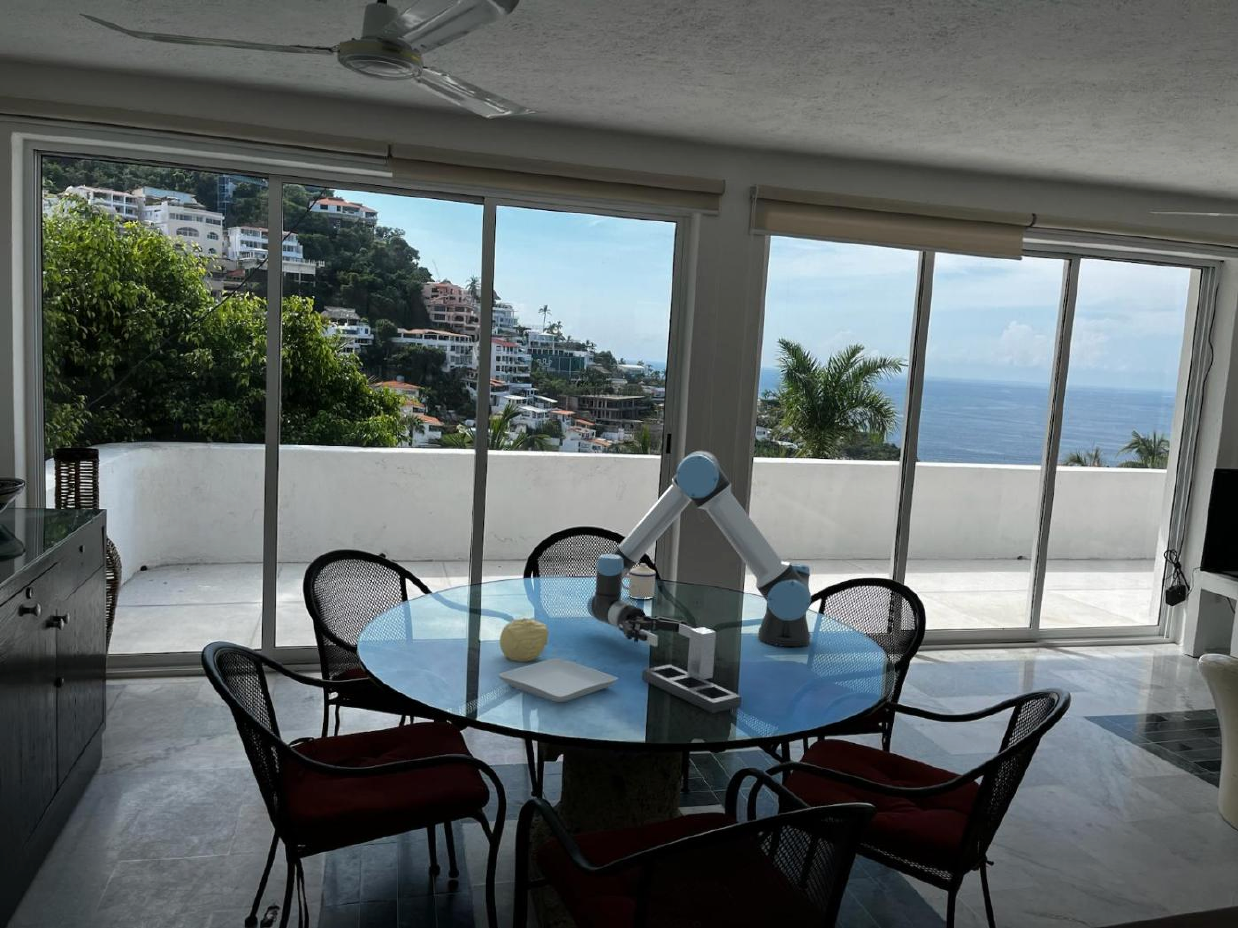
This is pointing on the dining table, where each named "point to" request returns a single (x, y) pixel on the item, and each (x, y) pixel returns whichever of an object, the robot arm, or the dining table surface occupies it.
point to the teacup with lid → (641, 581)
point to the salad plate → (557, 679)
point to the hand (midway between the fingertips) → (676, 638)
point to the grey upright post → (701, 652)
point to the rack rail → (693, 695)
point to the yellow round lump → (523, 639)
